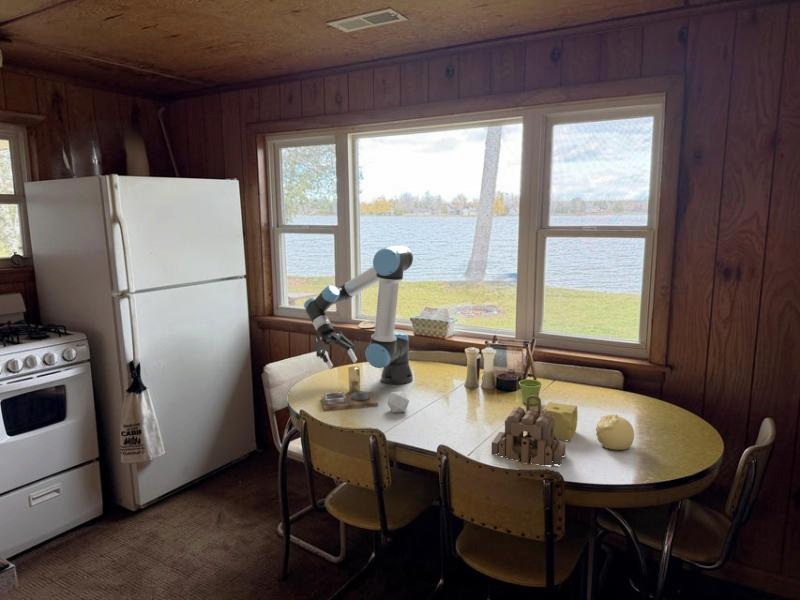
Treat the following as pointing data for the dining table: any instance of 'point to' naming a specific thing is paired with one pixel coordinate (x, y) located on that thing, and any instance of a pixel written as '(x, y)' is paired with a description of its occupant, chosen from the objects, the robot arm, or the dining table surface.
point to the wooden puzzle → (529, 437)
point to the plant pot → (530, 390)
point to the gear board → (348, 400)
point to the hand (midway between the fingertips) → (343, 364)
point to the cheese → (563, 419)
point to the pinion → (354, 379)
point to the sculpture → (615, 432)
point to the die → (398, 402)
